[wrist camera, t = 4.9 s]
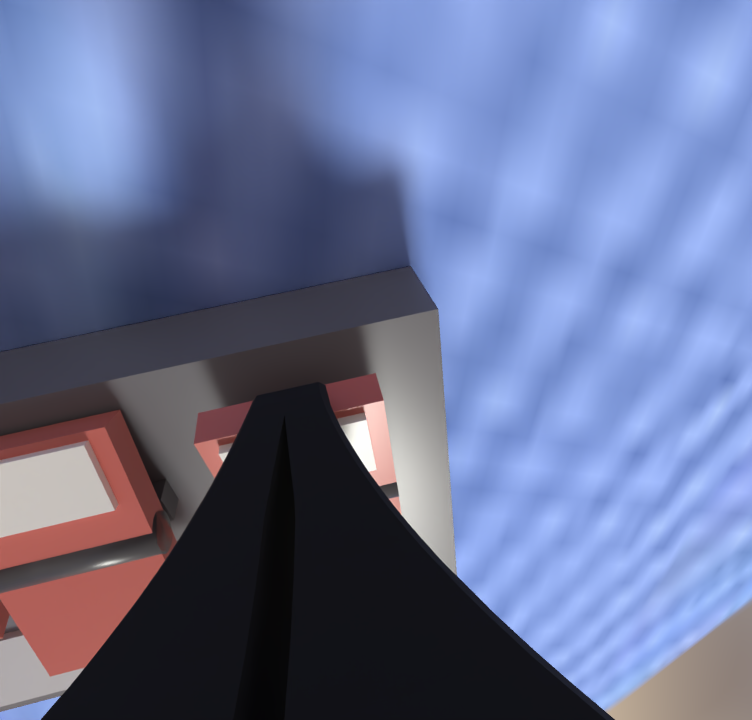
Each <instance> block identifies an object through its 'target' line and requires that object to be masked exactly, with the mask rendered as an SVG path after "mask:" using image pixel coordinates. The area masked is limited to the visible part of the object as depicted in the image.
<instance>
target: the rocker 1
mask: <svg viewBox="0 0 752 720" xmlns="http://www.w3.org/2000/svg"><path fill="white" fill-rule="evenodd" d="M9 615H10V614H9V612H8V611H7V609H6V608H5V606H4V605H3V603H2V602H1V601H0V639H1V638H3V636H4V633H5V629H6V626H7V622H8V619H9Z"/></svg>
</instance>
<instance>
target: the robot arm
mask: <svg viewBox="0 0 752 720" xmlns="http://www.w3.org/2000/svg"><path fill="white" fill-rule="evenodd" d="M41 720H615V719H613V718H612V717H611V716H610V715H609V714H608V713H606V712H605V711H604V710H603V709H602V708H600V707H599V706H598V705H597V704H596V703H595V702H593V701H592V700H591V699H590V698H589V697H587V696H586V695H585V694H584V693H583V692H581V691H580V690H579V689H578V688H577V687H576V686H574V685H573V684H572V683H571V682H570V681H569V680H568V679H566V678H565V677H564V676H563V675H562V674H561V673H559V672H558V671H557V670H556V669H555V668H554V667H553V666H551V665H550V664H549V663H548V662H547V661H546V660H545V659H543V658H542V657H541V656H540V655H539V654H538V653H537V652H536V651H534V650H533V649H532V648H531V647H530V646H529V645H528V644H527V643H526V642H525V641H524V640H523V639H521V638H520V637H519V636H518V635H517V634H516V633H515V632H514V631H513V630H512V629H511V628H510V627H508V626H507V625H506V624H505V623H504V622H503V621H502V620H501V619H500V618H499V617H498V616H496V615H495V614H494V613H493V612H492V611H491V610H490V609H489V608H488V607H487V606H486V605H485V604H484V603H483V602H482V601H481V600H480V599H479V598H478V597H477V596H476V595H475V594H474V593H473V592H472V591H471V590H470V589H469V588H468V587H467V586H466V585H465V584H464V583H463V582H462V581H461V580H460V579H459V578H458V577H457V576H456V575H455V574H454V573H453V572H452V571H451V570H450V569H449V568H448V567H447V566H446V565H445V564H444V562H443V561H442V560H441V559H440V558H439V557H438V556H437V555H436V554H435V553H434V552H433V550H432V549H431V548H430V547H429V546H428V545H427V544H426V543H425V542H424V540H423V539H422V538H421V537H420V536H419V535H418V534H417V533H416V531H415V530H414V529H413V528H412V527H411V525H410V524H409V523H408V522H407V521H406V520H405V518H404V517H403V516H402V515H401V514H400V512H399V511H398V510H397V509H396V507H395V506H394V505H393V504H392V502H391V501H390V500H389V499H388V497H387V496H386V495H385V493H384V492H383V491H382V489H381V488H380V487H379V485H378V484H377V482H376V481H375V480H374V478H373V477H372V476H371V474H370V473H369V471H368V470H367V468H366V467H365V465H364V464H363V462H362V461H361V459H360V458H359V456H358V455H357V453H356V451H355V450H354V448H353V447H352V445H351V443H350V442H349V440H348V438H347V437H346V435H345V433H344V432H343V430H342V428H341V426H340V424H339V422H338V420H337V418H336V416H335V414H334V412H333V409H332V407H331V405H330V400H329V396H328V393H327V389H326V385H324V384H322V383H320V382H316V383H311V384H307V385H302V386H298V387H293V388H289V389H284V390H280V391H275V392H271V393H266V394H262V395H257V396H256V398H255V399H254V400H253V402H252V404H251V406H250V409H249V411H248V413H247V415H246V417H245V419H244V422H243V424H242V426H241V428H240V430H239V432H238V434H237V436H236V438H235V440H234V442H233V444H232V446H231V448H230V450H229V452H228V454H227V456H226V458H225V460H224V462H223V464H222V466H221V467H220V469H219V471H218V473H217V475H216V477H215V479H214V481H213V483H212V484H211V486H210V488H209V490H208V492H207V493H206V495H205V497H204V498H203V500H202V502H201V503H200V505H199V507H198V508H197V510H196V512H195V513H194V515H193V517H192V518H191V520H190V522H189V523H188V525H187V527H186V528H185V530H184V532H183V533H182V535H181V537H180V538H179V540H178V541H177V543H176V544H175V546H174V547H173V549H172V550H171V552H170V553H169V555H168V557H167V558H166V559H165V561H164V562H163V564H162V565H161V567H160V568H159V570H158V571H157V573H156V574H155V576H154V577H153V578H152V580H151V581H150V583H149V584H148V585H147V587H146V588H145V590H144V591H143V592H142V594H141V595H140V597H139V598H138V599H137V601H136V602H135V604H134V605H133V606H132V608H131V609H130V610H129V611H128V613H127V614H126V615H125V617H124V618H123V619H122V621H121V622H120V623H119V625H118V626H117V627H116V628H115V630H114V631H113V632H112V634H111V635H110V636H109V638H108V639H107V640H106V642H105V643H104V644H103V645H102V647H101V648H100V649H99V651H98V652H97V653H96V654H95V656H94V657H93V658H92V659H91V661H90V662H89V663H88V664H87V666H86V667H85V668H84V669H83V671H82V672H81V673H80V674H79V675H78V677H77V678H76V679H75V680H74V682H73V683H72V684H71V685H70V686H69V688H68V689H67V690H66V691H65V692H64V693H63V695H62V696H61V697H60V698H59V699H58V700H57V701H56V703H55V704H54V705H53V706H52V707H51V708H50V710H49V711H48V712H47V713H46V714H45V715H44V716H43V718H42V719H41Z"/></svg>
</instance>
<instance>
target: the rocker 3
mask: <svg viewBox="0 0 752 720" xmlns="http://www.w3.org/2000/svg"><path fill="white" fill-rule="evenodd" d="M325 385H326V389H327V393H328V396H329V400H330V405H331V407H332V409H333V412H334V414H335V416H336V418H337V420H338V422H339V424H340V426H341V428H342V430H343V432H344V433H345V435H346V437H347V438H348V440H349V442H350V443H351V445H352V447H353V448H354V450H355V451H356V453H357V455H358V456H359V458H360V459H361V461H362V462H363V464H364V465H365V467H366V468H367V470H368V471H369V473H370V474H371V476H372V477H373V478H374V480H375V481H376V482H377V484H378V485H379V487H380V488H381V489H382V491H383V492H384V493H385V495H386V496H387V497H388V499H389V500H390V501H391V502H392V504H393V505H394V506H395V507H396V509H397V510H398V511H399V512H400V514H401V515H402V513H401V507H400V501H399V492H398V486H397V481H396V475H395V469H394V462H393V456H392V450H391V443H390V437H389V430H388V424H387V418H386V411H385V405H384V399H383V396H382V393H381V389H380V386H379V383H378V379H377V376H376V373H374V374H369V375H365V376H360V377H356V378H352V379H347V380H343V381H338V382H334V383H329V384H325ZM252 402H253V401H249V402H245V403H241V404H236V405H232V406H227V407H223V408H218V409H214V410H209V411H205V412H201V413H198V418H197V425H196V432H195V439H194V445H195V447H196V448H197V450H198V452H199V453H200V455H201V457H202V458H203V460H204V462H205V463H206V465H207V467H208V468H209V470H210V472H211V473H212V475H213V477H214V478H215V477H216V475H217V473H218V471H219V469H220V467H221V466H222V464H223V462H224V460H225V458H226V456H227V454H228V452H229V450H230V448H231V446H232V444H233V442H234V440H235V438H236V436H237V434H238V432H239V430H240V428H241V426H242V424H243V422H244V419H245V417H246V415H247V413H248V411H249V409H250V406H251V404H252Z"/></svg>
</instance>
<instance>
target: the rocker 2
mask: <svg viewBox="0 0 752 720" xmlns="http://www.w3.org/2000/svg"><path fill="white" fill-rule="evenodd" d="M176 543H177V541H176V538H175V536H174V534H173V531H172V528H171V523H170V519H169V517H168V515H167V513H166V512H165V511H164V510H163V508H162V506H161V504H160V501H159V499H158V497H157V494H156V492H155V490H154V487H153V485H152V483H151V480H150V478H149V476H148V473H147V471H146V469H145V466H144V464H143V462H142V459H141V457H140V455H139V453H138V450H137V448H136V446H135V443H134V441H133V439H132V436H131V434H130V432H129V429H128V427H127V425H126V422H125V420H124V418H123V415H122V413H121V411H120V410H116V411H111V412H107V413H102V414H98V415H93V416H89V417H84V418H80V419H75V420H71V421H66V422H62V423H57V424H53V425H48V426H44V427H39V428H35V429H30V430H26V431H21V432H17V433H12V434H8V435H3V436H0V600H1V602H2V603H3V605H4V606H5V608H6V609H7V611H8V612H9V614H10V615H11V617H12V619H13V620H14V622H15V623H16V625H17V626H18V628H19V629H20V631H21V632H22V634H23V635H24V637H25V639H26V640H27V642H28V643H29V645H30V646H31V648H32V649H33V651H34V652H35V654H36V656H37V657H38V659H39V660H40V662H41V663H42V665H43V666H44V668H45V669H46V671H47V673H48V674H49V676H50V677H51V676H55V675H59V674H62V673H66V672H70V671H74V670H78V669H82V668H85V667H86V666H87V664H88V663H89V662H90V661H91V659H92V658H93V657H94V656H95V654H96V653H97V652H98V651H99V649H100V648H101V647H102V645H103V644H104V643H105V642H106V640H107V639H108V638H109V636H110V635H111V634H112V632H113V631H114V630H115V628H116V627H117V626H118V625H119V623H120V622H121V621H122V619H123V618H124V617H125V615H126V614H127V613H128V611H129V610H130V609H131V608H132V606H133V605H134V604H135V602H136V601H137V599H138V598H139V597H140V595H141V594H142V592H143V591H144V590H145V588H146V587H147V585H148V584H149V583H150V581H151V580H152V578H153V577H154V576H155V574H156V573H157V571H158V570H159V568H160V567H161V565H162V564H163V562H164V561H165V559H166V558H167V557H168V555H169V553H170V552H171V550H172V549H173V547H174V546H175V544H176Z"/></svg>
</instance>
